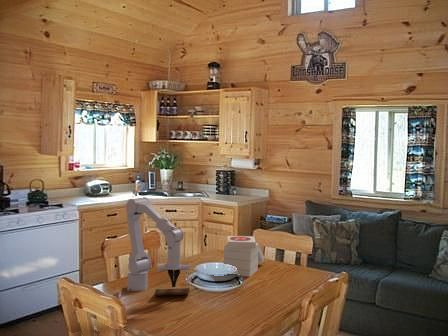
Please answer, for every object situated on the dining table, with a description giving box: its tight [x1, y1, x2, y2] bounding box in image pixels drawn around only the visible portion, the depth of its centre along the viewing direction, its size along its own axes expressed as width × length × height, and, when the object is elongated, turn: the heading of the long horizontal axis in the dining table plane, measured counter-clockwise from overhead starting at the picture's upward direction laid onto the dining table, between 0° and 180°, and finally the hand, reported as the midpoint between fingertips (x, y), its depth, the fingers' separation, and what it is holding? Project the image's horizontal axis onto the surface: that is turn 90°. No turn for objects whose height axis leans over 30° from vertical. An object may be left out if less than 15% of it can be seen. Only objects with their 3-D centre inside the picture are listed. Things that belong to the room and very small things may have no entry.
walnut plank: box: [154, 287, 190, 297], centre depth 215 cm, size 15×9×2 cm, turn 99°
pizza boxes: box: [223, 235, 265, 278], centre depth 266 cm, size 19×30×18 cm, turn 159°
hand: (173, 286), depth 212 cm, fingers closed
